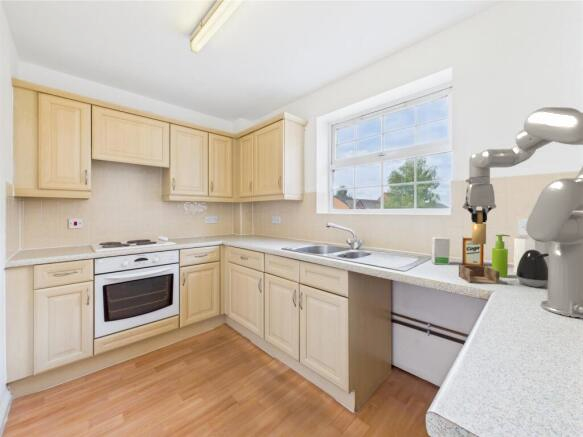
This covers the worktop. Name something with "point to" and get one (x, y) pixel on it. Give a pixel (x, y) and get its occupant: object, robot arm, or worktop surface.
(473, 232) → the amber bottle
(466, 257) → the baking soda box
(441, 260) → the skincare box
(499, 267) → the soap dispenser
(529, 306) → the worktop surface
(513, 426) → the worktop surface
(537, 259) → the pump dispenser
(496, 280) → the open wooden box
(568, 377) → the worktop surface
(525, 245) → the container
